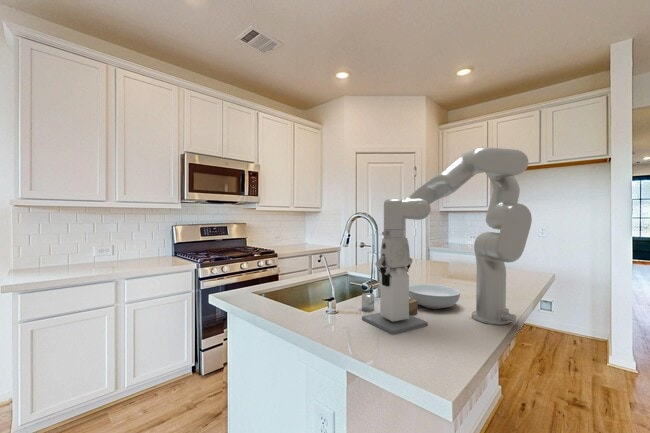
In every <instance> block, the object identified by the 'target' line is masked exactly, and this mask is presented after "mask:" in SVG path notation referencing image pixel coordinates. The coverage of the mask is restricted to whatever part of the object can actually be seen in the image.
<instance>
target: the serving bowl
mask: <svg viewBox="0 0 650 433" xmlns="http://www.w3.org/2000/svg"><path fill="white" fill-rule="evenodd" d="M460 297H461V292H460V291H459V289H456V288H454V287H450V286H447V285H441V284H433V283H415V284H409V299H414V300H418V305H420V306H421V307H425V308H428V309H433V310H434V309H438V310H439V309H445V308H450V307H452V306H455V305H456V303H457V302H458V301H459V300H460Z"/></svg>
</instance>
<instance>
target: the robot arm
mask: <svg viewBox="0 0 650 433" xmlns="http://www.w3.org/2000/svg"><path fill="white" fill-rule="evenodd" d="M528 167H529V158H528V156H527V155H526V153H525V152H524V151H523V150H522V151H521V150H520V149H514V148H501V147H488V146H487V147H478V148H475V149H472V150H471V149H470V150H468V151H465V152H464V153H462V154H461V155H460V156H458V157H457V158H456V159H454V160H453V161H452V162H451V163H449V165H447V166H446V167H445V168H444V169H443V170H441V171H440V172H439V173H438V174H436V175H435V176H434V177H432V178H431V179H429V180H428V181H427V182H426V183H424V184H422V185H421V186H420V187H418V188H417V189H415V190H414V191H413V192H411V194H409V195H408V196H406V198H405V199H401V198H388V199H385V200H384V202H383V231H382V233H381V234H382V236H383V238H382V241H381V247H380V258H379V259H378V260H376V262H375V264H374V266H376V268H377V269H378V271H379V273H380V274H382V285H384V286H387V287H388V286H389V275H388V273H389V270H390V268H396V267H404V269H405V270H406V272H407V273H409V270H410V268H411V265H412V264H413V259H412V258H411V256H410V254H411V253H410V246H409V240H408V237H406V236H407V235H406V232H407V231H406V230H407V228H406V226H407V225H406V222H407V220H413V221H420V220H421V221H422V220H424V219H426V218H427V217H428V216H429V215H430V214H431V212H432V210H431V204H432V203H434V202H437V201H438V200H440V199H443V198H445V197H449V196H450V195H453V193H455V192H456V191H458V190H459V189H460V188H462V186H463V185H465V184H466V183H468V181H470V180H471V179H472V178H473V177H474V176H475V175H476V176H477V175H478V174H484V173H485V175H486V176H487V178H489V180H490V182H491V185H492V193H491V198H490V201H489V205H488V208H487V212H486V216H485V222H486V224H487V226H488V227H489V228H491V229H494V230H500V231H499V232H494V231H493V232H492V231H487V232H482V233H480V234H479V235H478V236H476V238H475V241H474V244H473V249H474V256H475V260H476V262H475V263H476V283H475V284H476V288H475V289H476V291H475V292H476V293H475V294H476V296H475V301H476V302H475V307H476V308H475V310H474V311H471V318H472V319H474V320H476V321H477V322H481V323H485V324H490V325H497V326H498V325H499V326H500V325H501V326H502V325H508V324H510V323H511V322H512V323H516V321H517V315H516V314H513V313H510V312H509V310H510V309H509V308H507V307H506V306H507V301H506V300H507V296H506V295H507V269H506V268H507V267H506V264H505V263H514V262H516V261H517V260H519V259H520V258H521V257H522V255H523V253H524V251H525V247H526V244H527V240H528V238H529V234H530V231H531V227H532V220H533V218H532V213H531V211H530V209H529V207H527V206H526V205H525V204H523V203H520V202H518V201H519V197H520V192H521V191H520V185H519V182H518V180H517V178H516V177H515V176H518V175H520V174H522V173H524V172H525V171H526V170H527V168H528ZM385 268H386V270H385Z"/></svg>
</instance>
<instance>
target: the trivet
mask: <svg viewBox="0 0 650 433" xmlns="http://www.w3.org/2000/svg"><path fill="white" fill-rule="evenodd" d="M361 320H362V321H364V322H366V323H368V324H370V325H372V326H374V327H376V328H378V329H380V330H382V331H384V332H386V333H389V334H390V335H392V336H393V335H397V334H401V333H404V332H408V331H412V330H415V329H419V328H424V327H427V326H428V324H429V322H428V321H426V320H424V319H421V318H418V317H416V316H414V315H412V316H411V315H409V319H404V320H399V321H393V322H392V321H390V320H389V319H387V318H385V317H383V316H381V315H380V312H375V313H372V314H367V315H362V316H361Z"/></svg>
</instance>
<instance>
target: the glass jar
mask: <svg viewBox="0 0 650 433" xmlns="http://www.w3.org/2000/svg"><path fill="white" fill-rule="evenodd" d="M361 311H363V312H368V313H369V312H370V313H371V312H374V311H375V294H374V293H369V292H365V293H364V292H363V293H362V294H361Z"/></svg>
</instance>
